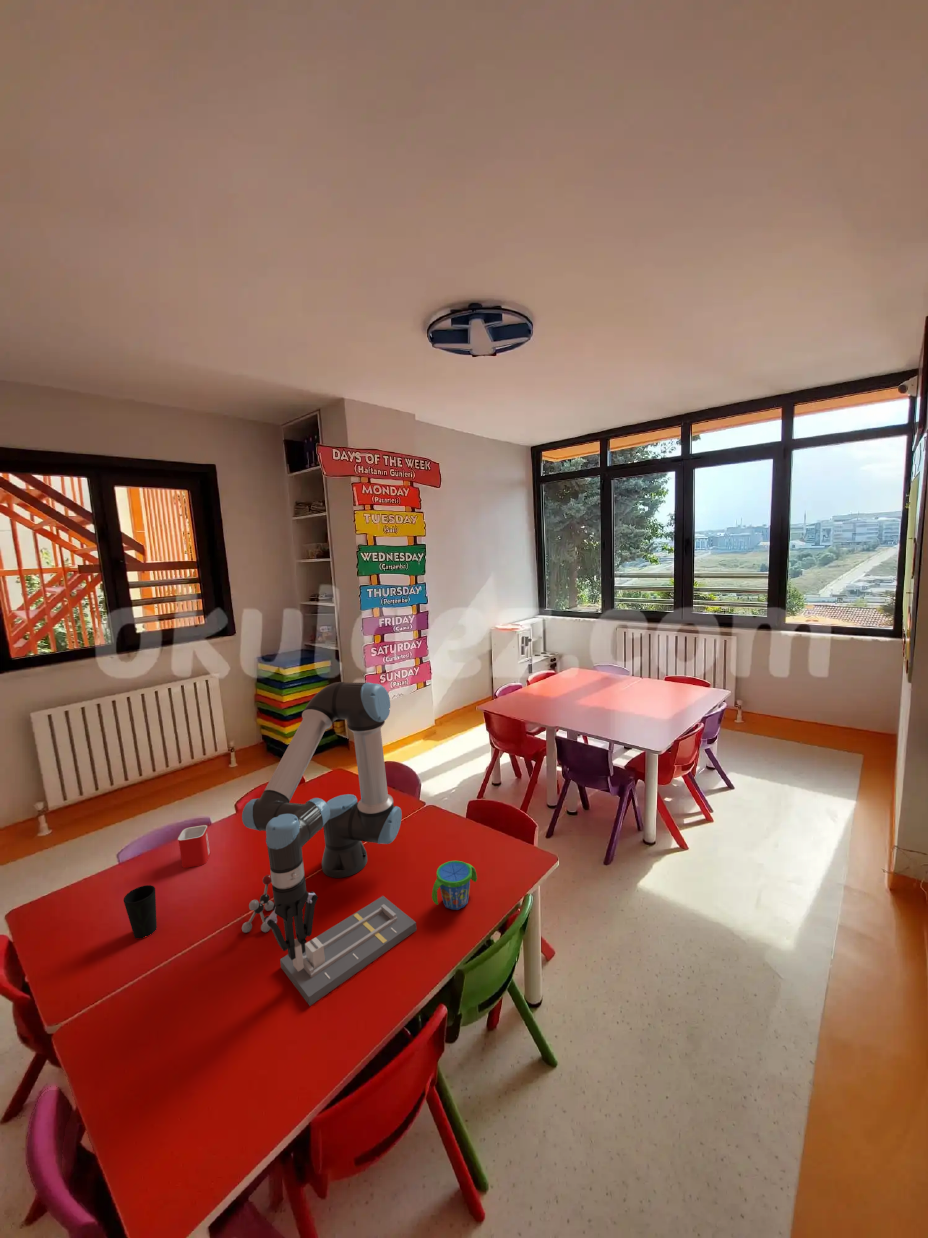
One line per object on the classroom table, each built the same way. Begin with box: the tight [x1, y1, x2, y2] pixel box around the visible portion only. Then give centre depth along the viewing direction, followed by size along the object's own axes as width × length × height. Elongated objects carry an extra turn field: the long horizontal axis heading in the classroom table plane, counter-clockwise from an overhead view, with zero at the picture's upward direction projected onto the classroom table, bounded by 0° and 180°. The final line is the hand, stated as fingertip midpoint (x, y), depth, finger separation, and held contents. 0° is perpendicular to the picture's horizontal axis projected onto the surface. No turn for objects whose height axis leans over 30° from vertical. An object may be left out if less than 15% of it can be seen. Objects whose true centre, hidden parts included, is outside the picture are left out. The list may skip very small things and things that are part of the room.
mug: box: [177, 824, 211, 869], centre depth 179 cm, size 12×8×11 cm
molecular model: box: [241, 874, 274, 934], centre depth 146 cm, size 8×12×11 cm
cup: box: [123, 884, 158, 939], centre depth 144 cm, size 8×8×12 cm
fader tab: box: [305, 936, 325, 970], centre depth 127 cm, size 4×3×5 cm
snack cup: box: [431, 860, 478, 911], centre depth 149 cm, size 16×10×10 cm
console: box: [279, 895, 418, 1007], centre depth 134 cm, size 16×32×4 cm, turn 134°
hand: (298, 966), depth 124 cm, fingers closed
